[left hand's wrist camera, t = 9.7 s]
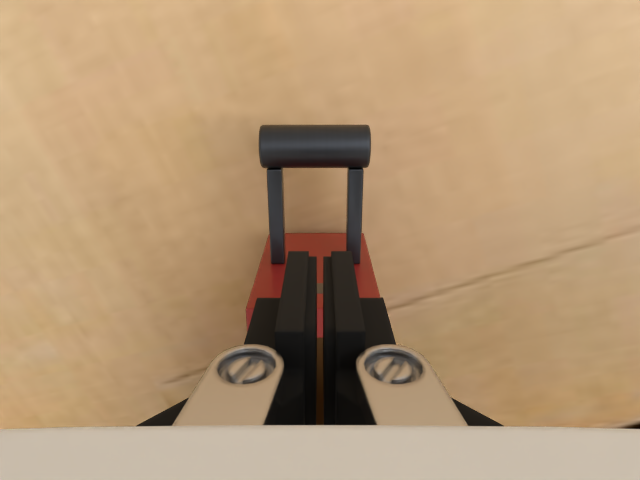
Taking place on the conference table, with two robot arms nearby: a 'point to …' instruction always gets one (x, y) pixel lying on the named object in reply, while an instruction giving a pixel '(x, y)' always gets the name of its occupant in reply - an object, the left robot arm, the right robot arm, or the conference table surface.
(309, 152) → the drawer
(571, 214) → the conference table surface
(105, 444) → the left robot arm
